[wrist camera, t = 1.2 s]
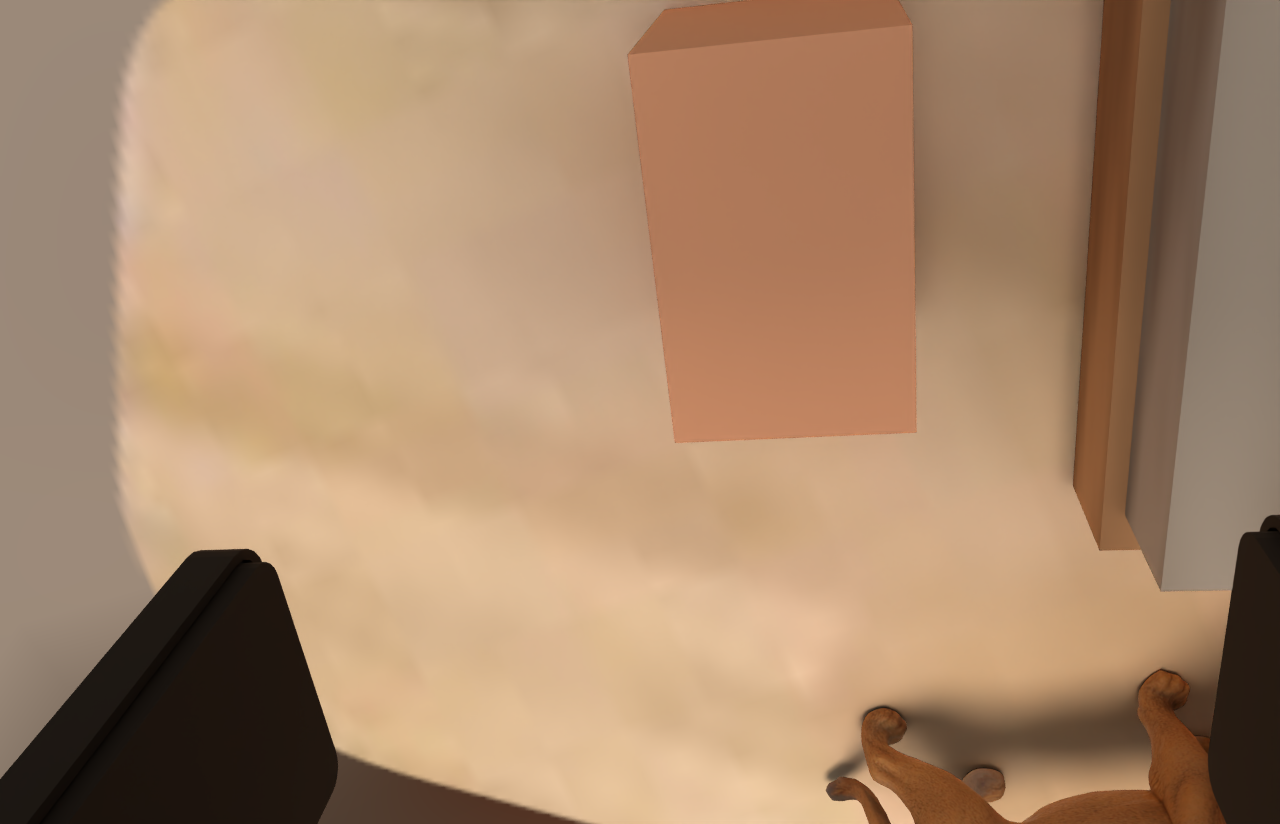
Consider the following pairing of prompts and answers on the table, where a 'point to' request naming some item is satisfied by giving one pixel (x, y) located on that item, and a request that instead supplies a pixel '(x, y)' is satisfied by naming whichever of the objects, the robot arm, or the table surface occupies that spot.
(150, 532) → the table surface
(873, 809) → the lion figurine
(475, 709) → the table surface
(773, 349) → the terracotta brick
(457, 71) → the table surface
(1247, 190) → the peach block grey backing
